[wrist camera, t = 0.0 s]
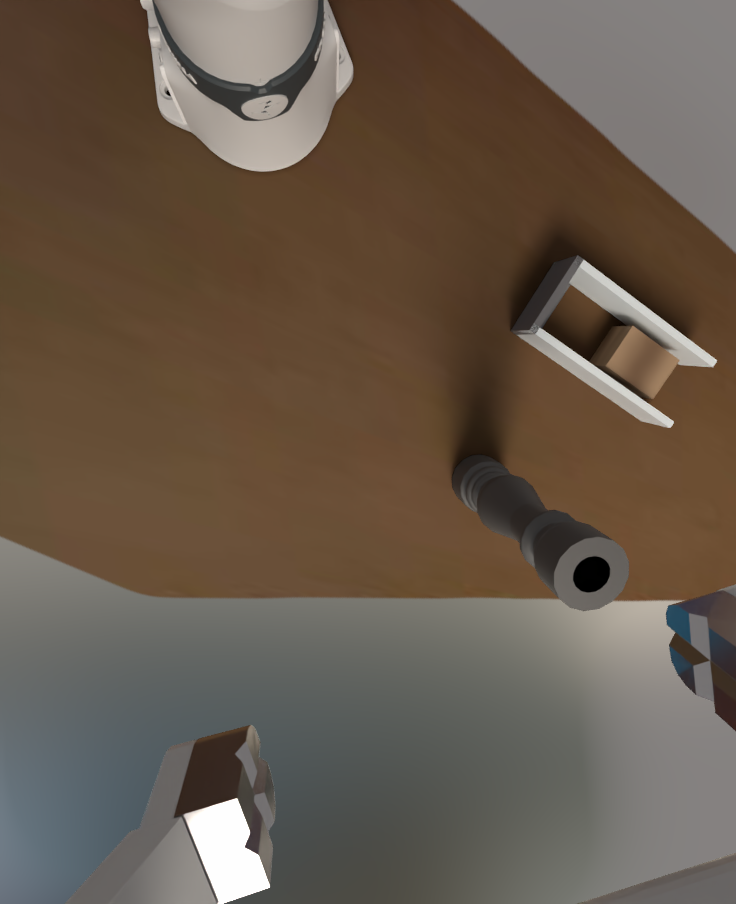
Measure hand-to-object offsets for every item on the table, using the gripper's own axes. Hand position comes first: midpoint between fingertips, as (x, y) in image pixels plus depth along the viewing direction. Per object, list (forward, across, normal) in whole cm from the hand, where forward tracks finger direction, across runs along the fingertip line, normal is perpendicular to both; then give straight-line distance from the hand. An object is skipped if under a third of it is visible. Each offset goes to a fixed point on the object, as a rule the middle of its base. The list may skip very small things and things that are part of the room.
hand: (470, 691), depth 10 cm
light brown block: (+48, -34, +4) cm, 59 cm away
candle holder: (+48, -14, +13) cm, 52 cm away
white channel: (+48, -31, +1) cm, 57 cm away
